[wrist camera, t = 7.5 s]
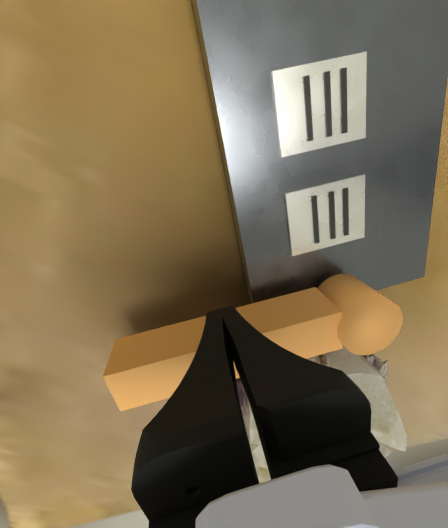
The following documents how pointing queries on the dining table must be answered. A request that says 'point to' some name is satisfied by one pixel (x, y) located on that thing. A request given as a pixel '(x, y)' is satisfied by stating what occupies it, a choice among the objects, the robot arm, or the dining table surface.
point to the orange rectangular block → (266, 322)
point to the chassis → (327, 134)
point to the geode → (371, 384)
